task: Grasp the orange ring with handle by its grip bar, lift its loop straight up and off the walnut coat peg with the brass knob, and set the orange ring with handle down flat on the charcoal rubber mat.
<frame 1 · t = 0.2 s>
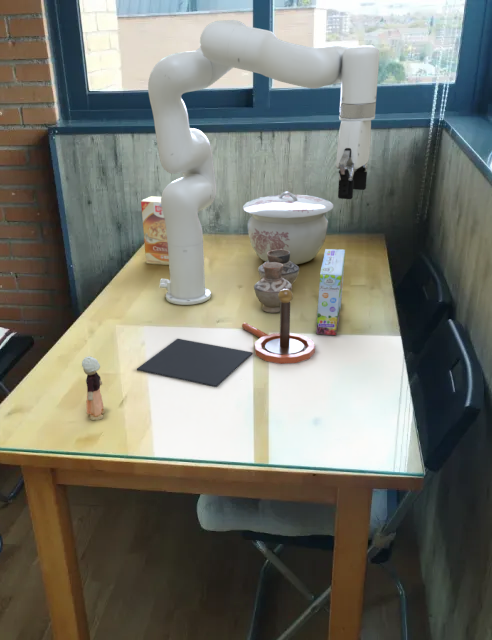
hand: (352, 193, 157), 31 cm above the table, tool pointing down, fingers open, 9 cm apart
mat: (195, 361, 156), on the table
chamber pot: (286, 259, 219), on the table
coat peg: (284, 350, 160), on the table
grandmother figurine: (97, 416, 137), on the table
orange ring with handle: (284, 350, 160), on the table
pottery: (276, 299, 188), on the table
snack box: (329, 319, 175), on the table
coffeecake box: (171, 262, 221), on the table
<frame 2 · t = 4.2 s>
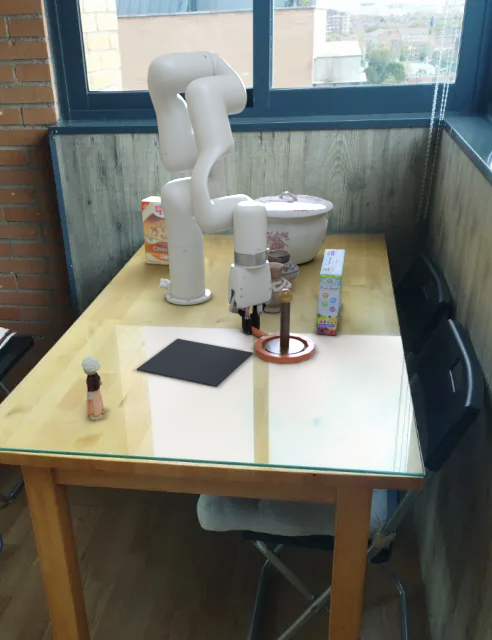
hand: (250, 330, 169), 0 cm above the table, tool pointing down, fingers closed on orange ring with handle, 1 cm apart
orange ring with handle: (284, 350, 160), on the table, touching gripper
everything else where it was.
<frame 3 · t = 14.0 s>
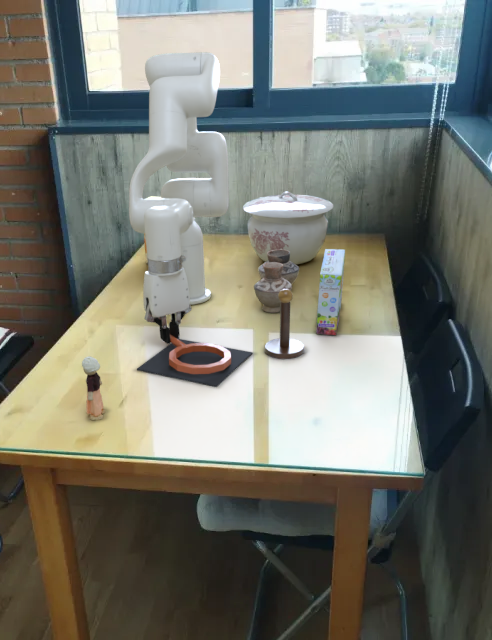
hand: (170, 340, 163), 2 cm above the table, tool pointing down, fingers closed on orange ring with handle, 1 cm apart
orange ring with handle: (200, 361, 153), point 1 cm above the table, touching gripper
everything else where it was.
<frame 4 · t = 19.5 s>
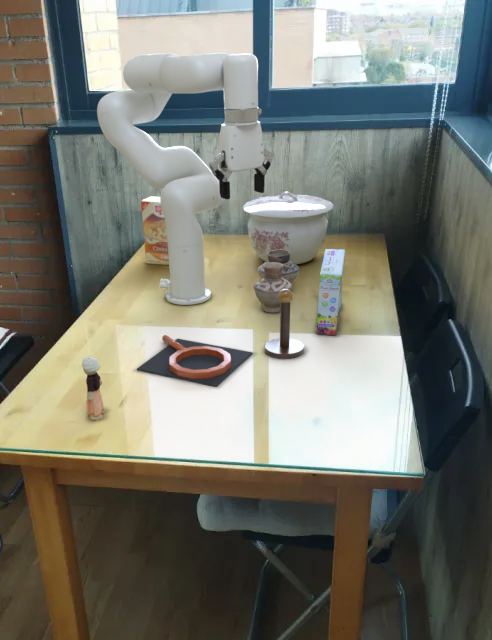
hand: (242, 195, 164), 30 cm above the table, tool pointing down, fingers open, 9 cm apart
orange ring with handle: (200, 364, 154), resting on mat
everything else where it was.
at the end: orange ring with handle inside the target area on the mat (2.7 cm from its centre), point 0.4 cm above the mat's base; orange ring with handle tilted 0°; the gripper is holding nothing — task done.
